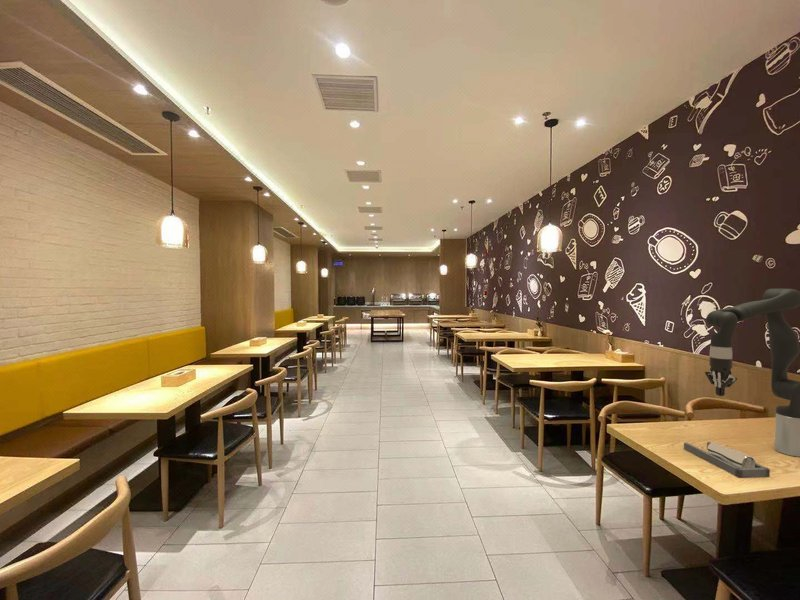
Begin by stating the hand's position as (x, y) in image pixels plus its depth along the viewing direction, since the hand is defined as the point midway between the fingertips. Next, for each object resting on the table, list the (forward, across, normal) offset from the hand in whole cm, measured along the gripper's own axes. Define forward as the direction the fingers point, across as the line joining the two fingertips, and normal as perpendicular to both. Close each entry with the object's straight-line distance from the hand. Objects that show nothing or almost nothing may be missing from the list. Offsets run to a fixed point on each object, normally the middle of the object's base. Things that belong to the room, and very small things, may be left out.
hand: (719, 395), depth 160 cm
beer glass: (+24, +1, +2) cm, 24 cm away
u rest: (+27, -4, +3) cm, 28 cm away
